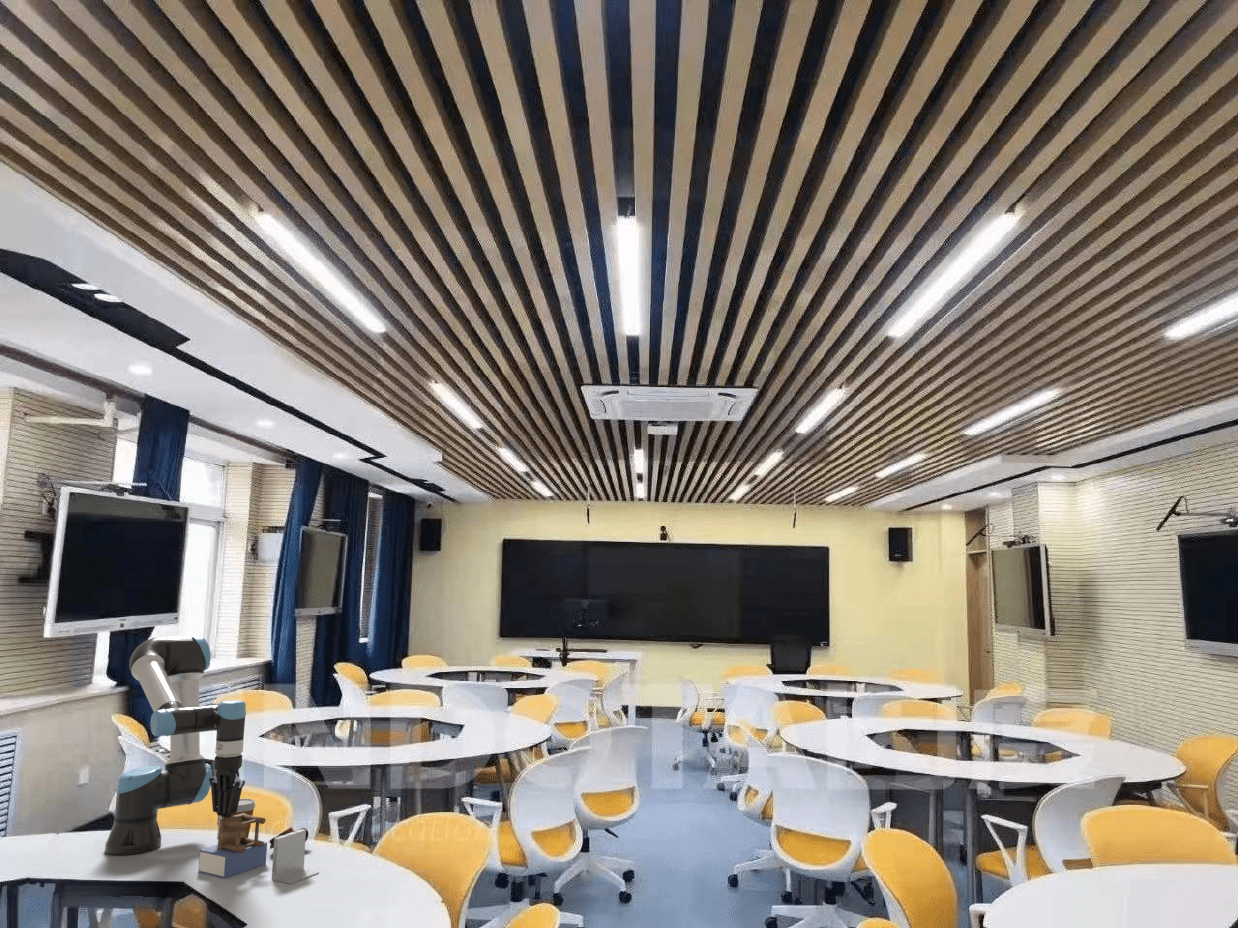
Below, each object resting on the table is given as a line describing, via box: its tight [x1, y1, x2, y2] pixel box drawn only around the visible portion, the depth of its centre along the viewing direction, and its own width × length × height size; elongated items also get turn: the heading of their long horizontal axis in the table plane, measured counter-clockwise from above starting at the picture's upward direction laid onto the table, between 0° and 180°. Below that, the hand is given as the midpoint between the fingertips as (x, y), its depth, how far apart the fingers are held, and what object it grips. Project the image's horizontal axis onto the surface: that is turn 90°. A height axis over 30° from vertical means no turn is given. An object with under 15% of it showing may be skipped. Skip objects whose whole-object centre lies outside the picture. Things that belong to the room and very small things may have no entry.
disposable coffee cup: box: [231, 798, 256, 838], centre depth 269 cm, size 10×10×12 cm
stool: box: [217, 813, 266, 853], centre depth 243 cm, size 10×8×8 cm
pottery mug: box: [268, 827, 310, 850], centre depth 259 cm, size 12×9×8 cm
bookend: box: [271, 828, 320, 885], centre depth 237 cm, size 8×10×11 cm
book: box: [198, 841, 268, 879], centre depth 243 cm, size 11×14×6 cm
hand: (222, 838), depth 246 cm, fingers closed
